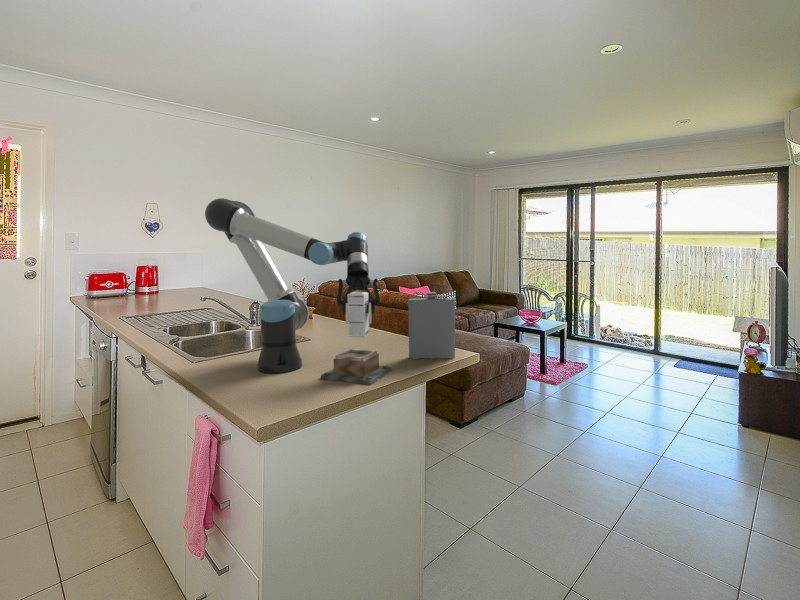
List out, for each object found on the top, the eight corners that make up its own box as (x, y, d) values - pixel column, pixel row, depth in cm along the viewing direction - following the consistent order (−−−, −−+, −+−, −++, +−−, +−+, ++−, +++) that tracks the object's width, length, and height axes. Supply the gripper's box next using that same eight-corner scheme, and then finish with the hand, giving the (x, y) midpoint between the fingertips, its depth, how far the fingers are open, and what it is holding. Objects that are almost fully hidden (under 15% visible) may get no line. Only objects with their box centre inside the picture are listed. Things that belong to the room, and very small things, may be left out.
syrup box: (365, 337, 139) (365, 293, 137) (348, 337, 140) (347, 293, 138) (369, 334, 145) (369, 291, 143) (352, 333, 146) (352, 291, 144)
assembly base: (320, 378, 137) (319, 357, 136) (344, 365, 152) (344, 346, 151) (371, 384, 131) (370, 361, 130) (391, 370, 146) (390, 349, 145)
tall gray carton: (454, 355, 164) (454, 291, 161) (455, 358, 160) (455, 292, 156) (409, 355, 165) (408, 291, 162) (408, 359, 160) (408, 292, 157)
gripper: (385, 274, 156) (388, 327, 142) (330, 275, 154) (328, 328, 140) (385, 260, 150) (389, 314, 136) (329, 261, 148) (327, 315, 134)
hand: (358, 321), depth 138 cm, fingers closed on syrup box, 7 cm apart
